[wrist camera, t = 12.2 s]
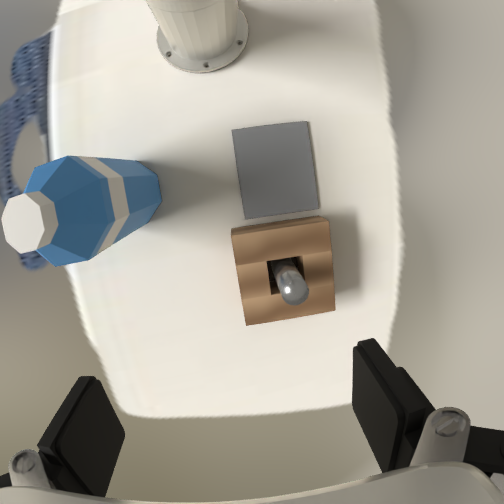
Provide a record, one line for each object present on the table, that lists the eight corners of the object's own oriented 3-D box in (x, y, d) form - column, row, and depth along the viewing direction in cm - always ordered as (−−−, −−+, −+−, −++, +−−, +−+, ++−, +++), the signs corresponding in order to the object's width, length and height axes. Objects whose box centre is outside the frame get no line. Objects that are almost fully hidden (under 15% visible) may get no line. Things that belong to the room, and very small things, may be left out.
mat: (231, 130, 40) (231, 130, 40) (306, 121, 40) (306, 121, 40) (245, 219, 43) (245, 219, 43) (317, 208, 43) (318, 208, 43)
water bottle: (122, 240, 43) (21, 312, 19) (88, 186, 41) (-36, 208, 17) (175, 203, 42) (103, 244, 18) (139, 146, 40) (35, 124, 16)
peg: (269, 255, 45) (280, 281, 34) (290, 252, 45) (307, 277, 34) (272, 276, 45) (283, 307, 35) (293, 272, 45) (310, 302, 35)
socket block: (231, 228, 44) (230, 235, 39) (318, 215, 44) (328, 221, 39) (244, 310, 46) (246, 325, 42) (325, 296, 47) (335, 310, 42)
